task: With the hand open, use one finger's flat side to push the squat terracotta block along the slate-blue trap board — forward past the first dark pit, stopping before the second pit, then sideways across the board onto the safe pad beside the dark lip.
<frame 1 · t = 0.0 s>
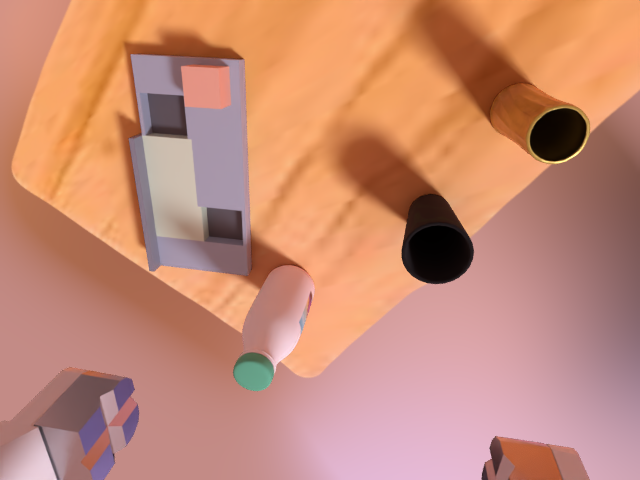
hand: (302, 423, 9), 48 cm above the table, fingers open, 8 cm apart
cup: (429, 213, 57), on the table
block: (212, 84, 52), point 2 cm above the table, touching board
milk bottle: (291, 284, 66), on the table
board: (200, 171, 60), on the table
vase: (516, 110, 50), on the table
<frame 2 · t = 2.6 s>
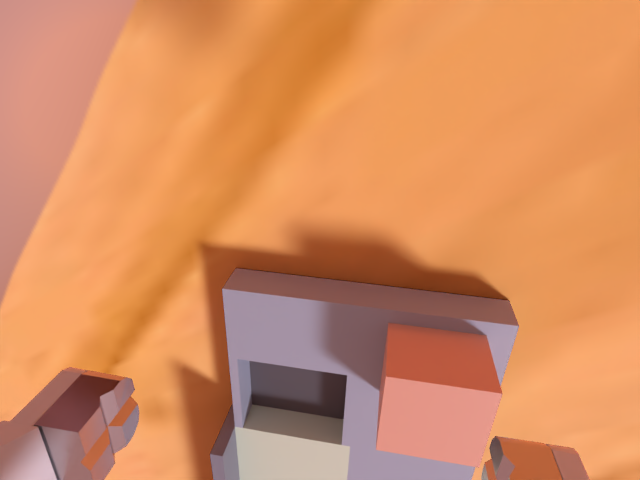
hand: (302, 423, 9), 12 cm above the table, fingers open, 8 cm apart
block: (429, 364, 21), point 2 cm above the table, touching board
board: (348, 469, 29), on the table
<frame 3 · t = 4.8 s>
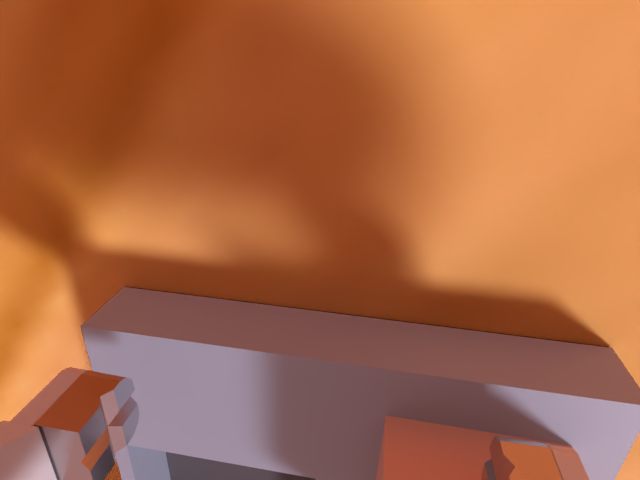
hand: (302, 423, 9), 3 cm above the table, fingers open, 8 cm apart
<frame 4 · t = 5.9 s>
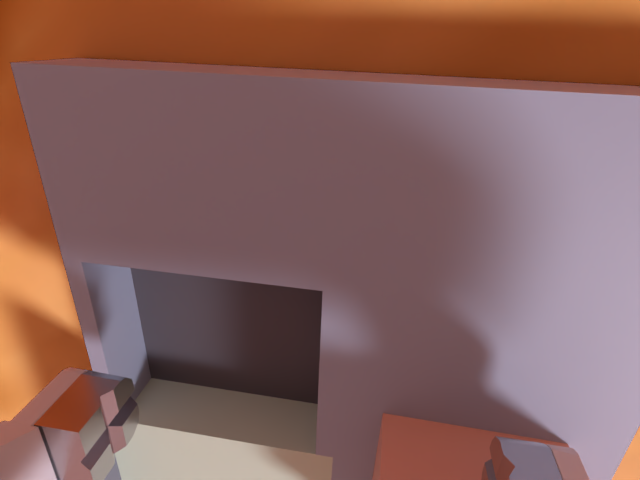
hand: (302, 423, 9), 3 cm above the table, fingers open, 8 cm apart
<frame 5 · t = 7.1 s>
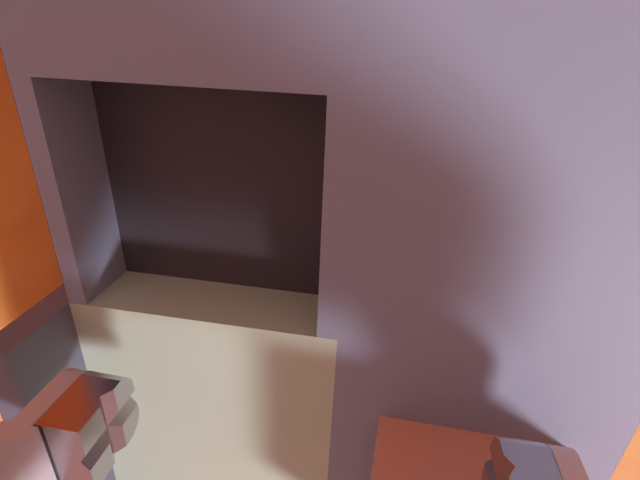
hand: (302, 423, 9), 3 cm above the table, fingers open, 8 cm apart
board: (336, 421, 14), on the table
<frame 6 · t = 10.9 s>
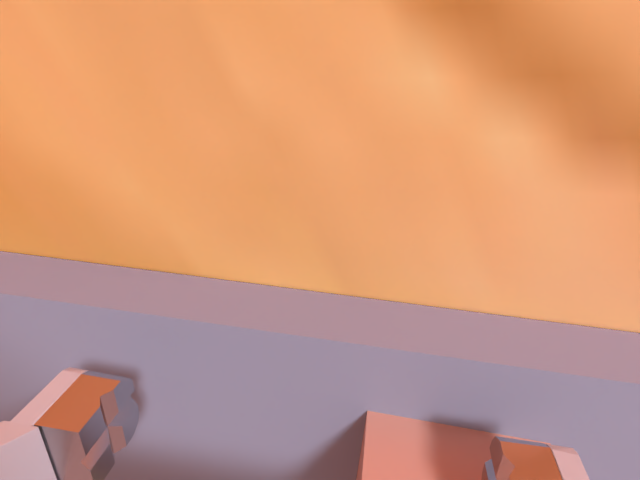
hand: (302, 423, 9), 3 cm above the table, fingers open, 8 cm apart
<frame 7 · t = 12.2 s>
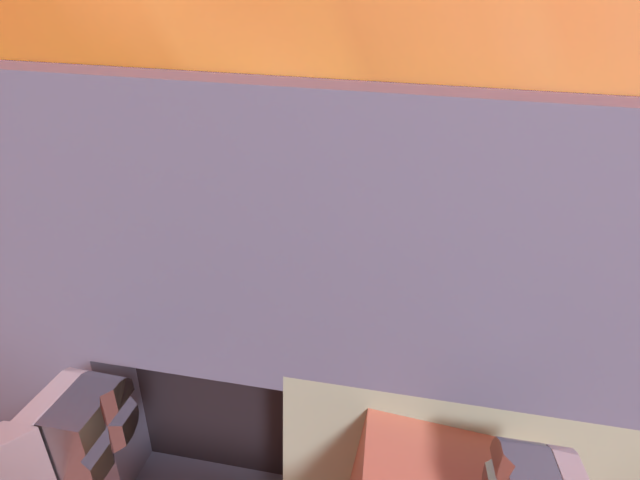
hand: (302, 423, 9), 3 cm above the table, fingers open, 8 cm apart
board: (472, 352, 12), on the table
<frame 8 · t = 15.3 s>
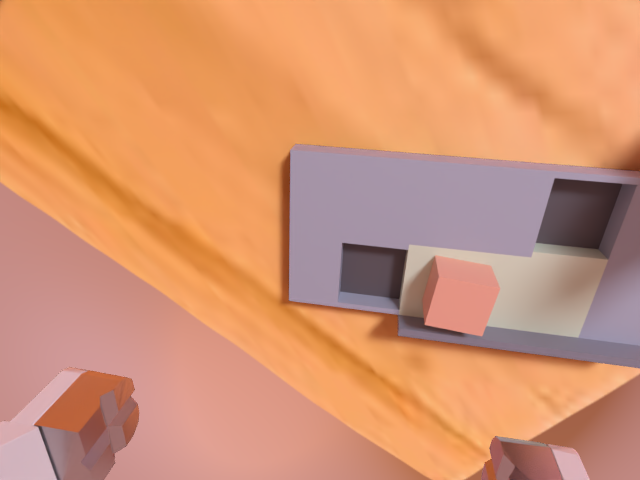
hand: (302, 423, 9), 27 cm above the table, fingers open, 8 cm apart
block: (455, 283, 35), point 2 cm above the table, touching board
board: (468, 240, 36), on the table
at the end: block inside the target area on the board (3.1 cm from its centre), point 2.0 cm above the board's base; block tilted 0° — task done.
